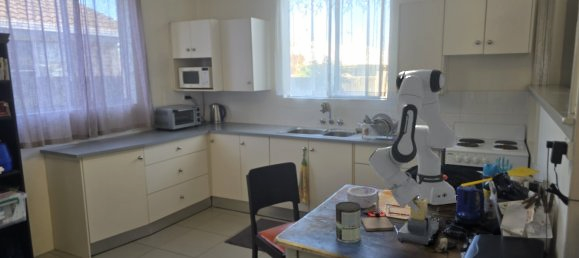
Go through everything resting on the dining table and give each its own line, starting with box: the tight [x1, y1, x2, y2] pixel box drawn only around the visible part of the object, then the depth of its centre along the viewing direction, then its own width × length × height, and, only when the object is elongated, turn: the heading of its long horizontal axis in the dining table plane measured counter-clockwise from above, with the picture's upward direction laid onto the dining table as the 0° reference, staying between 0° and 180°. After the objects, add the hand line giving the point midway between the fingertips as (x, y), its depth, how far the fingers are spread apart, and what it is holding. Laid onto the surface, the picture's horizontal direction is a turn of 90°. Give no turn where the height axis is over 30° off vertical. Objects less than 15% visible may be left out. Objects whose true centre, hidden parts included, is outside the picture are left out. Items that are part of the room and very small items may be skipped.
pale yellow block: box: [409, 197, 428, 221], centre depth 172 cm, size 5×5×8 cm
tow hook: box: [367, 190, 387, 218], centre depth 195 cm, size 8×13×9 cm
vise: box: [397, 196, 440, 246], centre depth 172 cm, size 18×12×16 cm, turn 147°
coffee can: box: [335, 201, 362, 244], centre depth 170 cm, size 10×10×14 cm
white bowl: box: [346, 186, 378, 209], centre depth 209 cm, size 15×15×8 cm
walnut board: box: [360, 216, 395, 232], centre depth 184 cm, size 12×12×1 cm
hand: (420, 207), depth 171 cm, fingers closed on pale yellow block, 5 cm apart
